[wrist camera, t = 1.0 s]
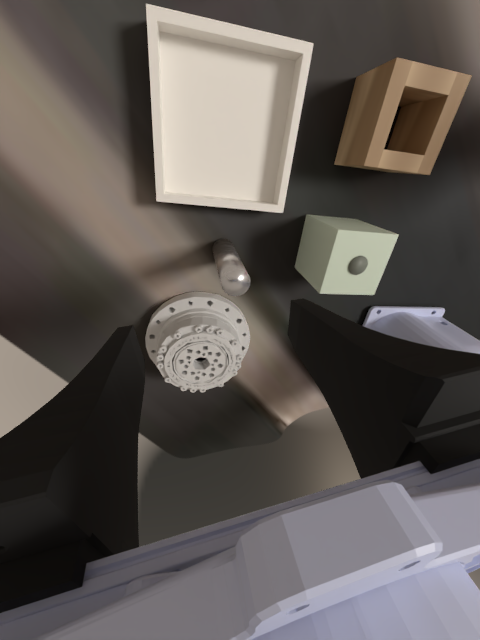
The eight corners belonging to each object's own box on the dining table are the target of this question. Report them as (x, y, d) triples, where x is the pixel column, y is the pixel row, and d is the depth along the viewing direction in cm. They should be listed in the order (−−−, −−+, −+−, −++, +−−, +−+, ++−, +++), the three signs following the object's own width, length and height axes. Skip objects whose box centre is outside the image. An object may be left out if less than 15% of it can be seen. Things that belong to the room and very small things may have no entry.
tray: (301, 54, 16) (313, 43, 15) (276, 209, 21) (282, 213, 19) (150, 19, 14) (146, 3, 13) (158, 198, 19) (156, 201, 17)
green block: (355, 219, 22) (399, 234, 18) (339, 269, 25) (374, 295, 20) (306, 214, 21) (339, 230, 17) (294, 267, 24) (320, 294, 19)
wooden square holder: (419, 90, 18) (471, 75, 15) (390, 172, 21) (429, 174, 17) (356, 77, 17) (397, 57, 14) (333, 164, 20) (364, 165, 16)
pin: (234, 239, 21) (252, 269, 16) (232, 260, 22) (248, 296, 16) (213, 237, 21) (222, 268, 15) (211, 259, 22) (220, 295, 16)
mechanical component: (260, 300, 25) (154, 280, 22) (272, 324, 22) (147, 303, 19) (232, 375, 30) (142, 366, 27) (239, 406, 26) (134, 399, 23)
